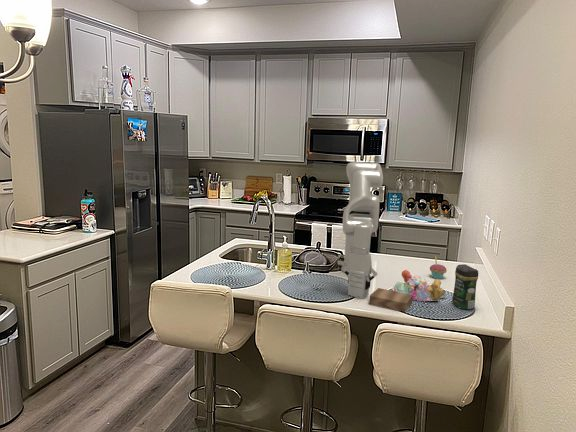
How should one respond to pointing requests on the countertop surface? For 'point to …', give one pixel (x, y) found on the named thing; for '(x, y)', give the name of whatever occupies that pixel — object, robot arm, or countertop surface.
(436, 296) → the candy landscape model
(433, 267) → the cupcake
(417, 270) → the countertop surface
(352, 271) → the supplement box
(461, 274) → the coffee jar
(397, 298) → the walnut base
